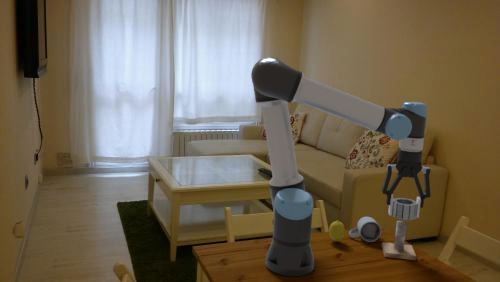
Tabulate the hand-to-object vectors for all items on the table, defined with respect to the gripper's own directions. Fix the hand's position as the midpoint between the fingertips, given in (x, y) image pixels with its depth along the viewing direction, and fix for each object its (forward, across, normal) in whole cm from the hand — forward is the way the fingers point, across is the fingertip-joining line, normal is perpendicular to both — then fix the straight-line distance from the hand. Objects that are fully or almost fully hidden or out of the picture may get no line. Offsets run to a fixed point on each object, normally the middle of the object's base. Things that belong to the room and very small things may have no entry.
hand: (403, 215), depth 156 cm
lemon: (+14, -21, +4) cm, 26 cm away
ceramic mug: (+14, -11, +11) cm, 21 cm away
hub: (0, 0, 0) cm, 0 cm away
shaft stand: (+14, 0, 0) cm, 14 cm away
